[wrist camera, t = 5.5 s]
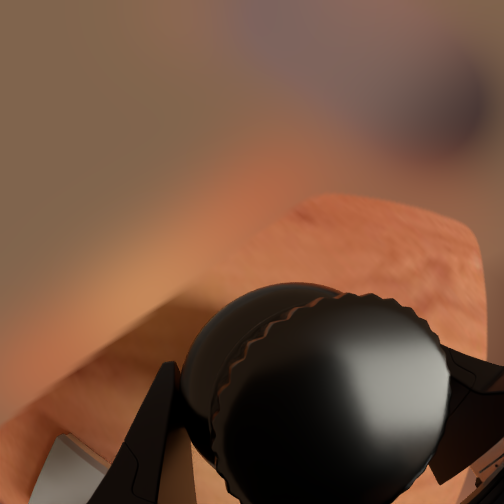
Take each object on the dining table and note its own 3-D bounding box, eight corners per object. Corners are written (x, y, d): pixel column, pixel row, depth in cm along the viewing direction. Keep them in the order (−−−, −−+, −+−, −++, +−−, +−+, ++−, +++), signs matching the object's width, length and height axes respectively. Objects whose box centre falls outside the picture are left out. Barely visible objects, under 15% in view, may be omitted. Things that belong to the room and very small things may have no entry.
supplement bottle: (226, 295, 16) (250, 169, 5) (330, 336, 16) (499, 298, 5) (180, 401, 14) (100, 509, 2) (290, 439, 14) (408, 550, 2)
